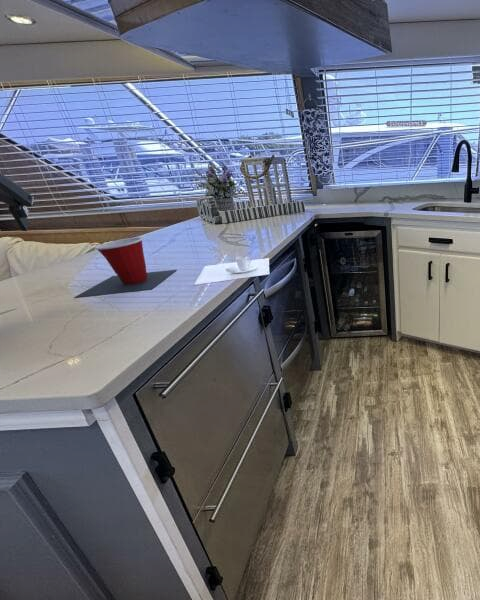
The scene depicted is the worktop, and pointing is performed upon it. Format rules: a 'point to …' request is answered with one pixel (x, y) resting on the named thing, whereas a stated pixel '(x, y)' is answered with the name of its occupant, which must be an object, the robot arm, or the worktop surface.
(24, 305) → the worktop surface
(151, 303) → the worktop surface
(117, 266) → the plastic cup
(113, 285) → the mat
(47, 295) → the worktop surface
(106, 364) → the worktop surface
